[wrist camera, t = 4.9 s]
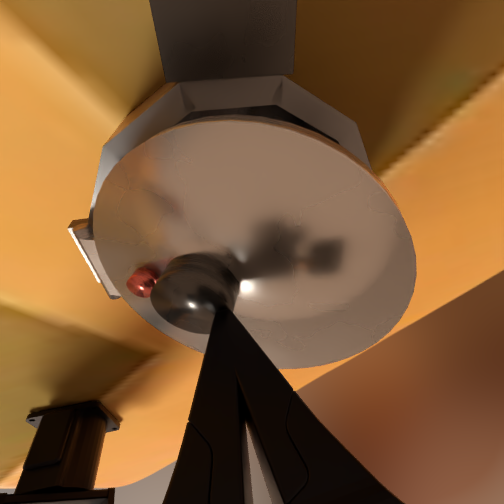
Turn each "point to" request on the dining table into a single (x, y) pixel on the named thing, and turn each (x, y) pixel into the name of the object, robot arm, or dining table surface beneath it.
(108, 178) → the lid
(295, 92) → the pot
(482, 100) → the dining table surface
